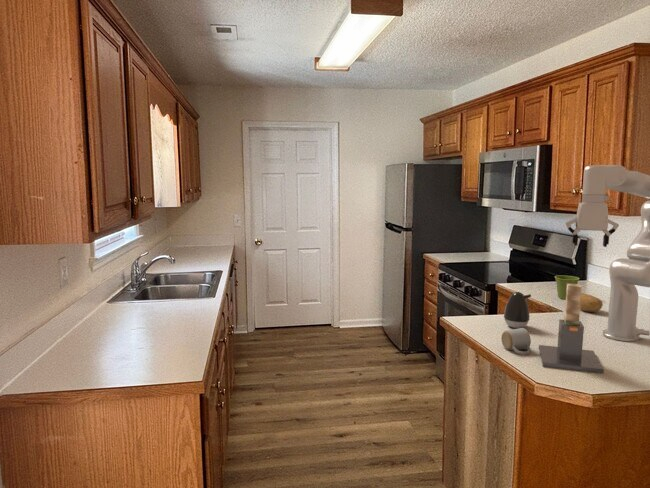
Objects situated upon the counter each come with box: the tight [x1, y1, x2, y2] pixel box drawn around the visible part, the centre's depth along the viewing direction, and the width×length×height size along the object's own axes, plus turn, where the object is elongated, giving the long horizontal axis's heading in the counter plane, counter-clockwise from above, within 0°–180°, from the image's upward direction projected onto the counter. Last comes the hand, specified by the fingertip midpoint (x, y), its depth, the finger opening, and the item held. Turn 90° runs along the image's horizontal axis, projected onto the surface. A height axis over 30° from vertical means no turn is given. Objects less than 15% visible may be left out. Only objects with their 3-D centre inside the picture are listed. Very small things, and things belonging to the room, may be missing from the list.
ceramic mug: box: [501, 327, 532, 356], centre depth 178 cm, size 11×8×8 cm
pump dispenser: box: [503, 291, 532, 329], centre depth 205 cm, size 10×10×15 cm
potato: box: [580, 292, 604, 313], centre depth 229 cm, size 10×14×8 cm
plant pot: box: [554, 275, 580, 300], centre depth 254 cm, size 12×12×11 cm
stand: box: [538, 319, 604, 374], centre depth 167 cm, size 18×18×14 cm
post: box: [563, 283, 582, 326], centre depth 166 cm, size 4×4×19 cm
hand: (589, 245), depth 178 cm, fingers open, 9 cm apart
